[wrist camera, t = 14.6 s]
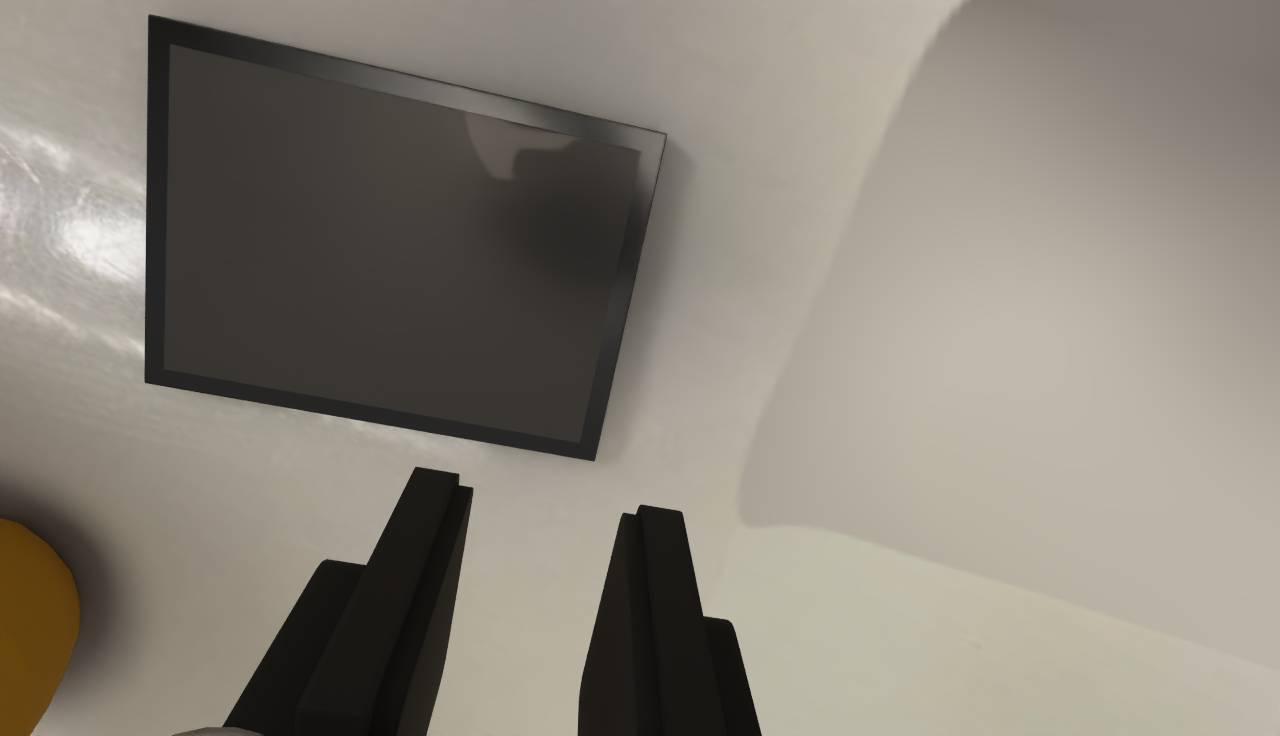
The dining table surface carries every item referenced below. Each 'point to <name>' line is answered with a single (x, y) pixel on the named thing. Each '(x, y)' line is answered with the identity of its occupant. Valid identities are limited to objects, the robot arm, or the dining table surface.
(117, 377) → the dining table surface
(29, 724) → the apple
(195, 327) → the tablet
